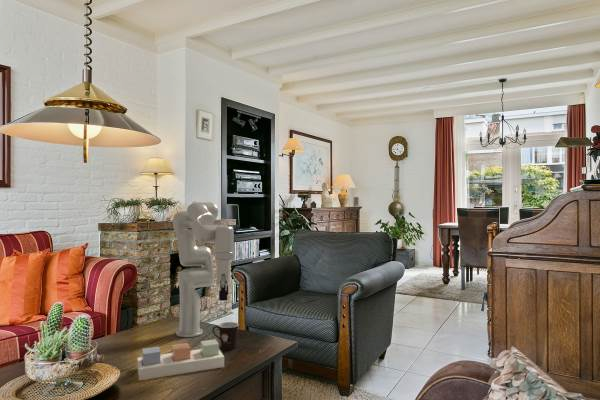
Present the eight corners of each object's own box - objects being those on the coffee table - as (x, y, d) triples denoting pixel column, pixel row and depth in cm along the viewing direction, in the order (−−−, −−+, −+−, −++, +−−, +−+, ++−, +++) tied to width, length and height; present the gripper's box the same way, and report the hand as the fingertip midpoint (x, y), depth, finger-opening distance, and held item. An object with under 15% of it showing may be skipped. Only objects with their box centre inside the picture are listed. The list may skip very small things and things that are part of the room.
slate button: (142, 361, 155) (142, 348, 155) (158, 359, 158) (158, 346, 158) (143, 367, 150) (143, 354, 150) (160, 365, 152) (160, 351, 152)
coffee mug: (242, 347, 181) (242, 324, 181) (226, 352, 175) (226, 329, 175) (226, 341, 189) (226, 319, 189) (210, 345, 183) (211, 323, 183)
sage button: (200, 353, 164) (200, 341, 165) (215, 351, 167) (215, 339, 167) (203, 358, 159) (203, 346, 159) (218, 356, 162) (218, 343, 162)
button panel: (137, 368, 157) (137, 357, 157) (217, 356, 170) (217, 346, 170) (139, 380, 146) (139, 369, 147) (224, 366, 159) (224, 356, 159)
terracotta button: (172, 357, 160) (172, 344, 160) (187, 355, 162) (187, 342, 162) (174, 363, 154) (174, 349, 155) (190, 360, 157) (190, 347, 157)
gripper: (216, 253, 177) (216, 293, 176) (213, 258, 159) (212, 302, 159) (234, 253, 178) (233, 293, 177) (232, 258, 160) (232, 302, 160)
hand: (223, 297), depth 168 cm, fingers open, 9 cm apart
